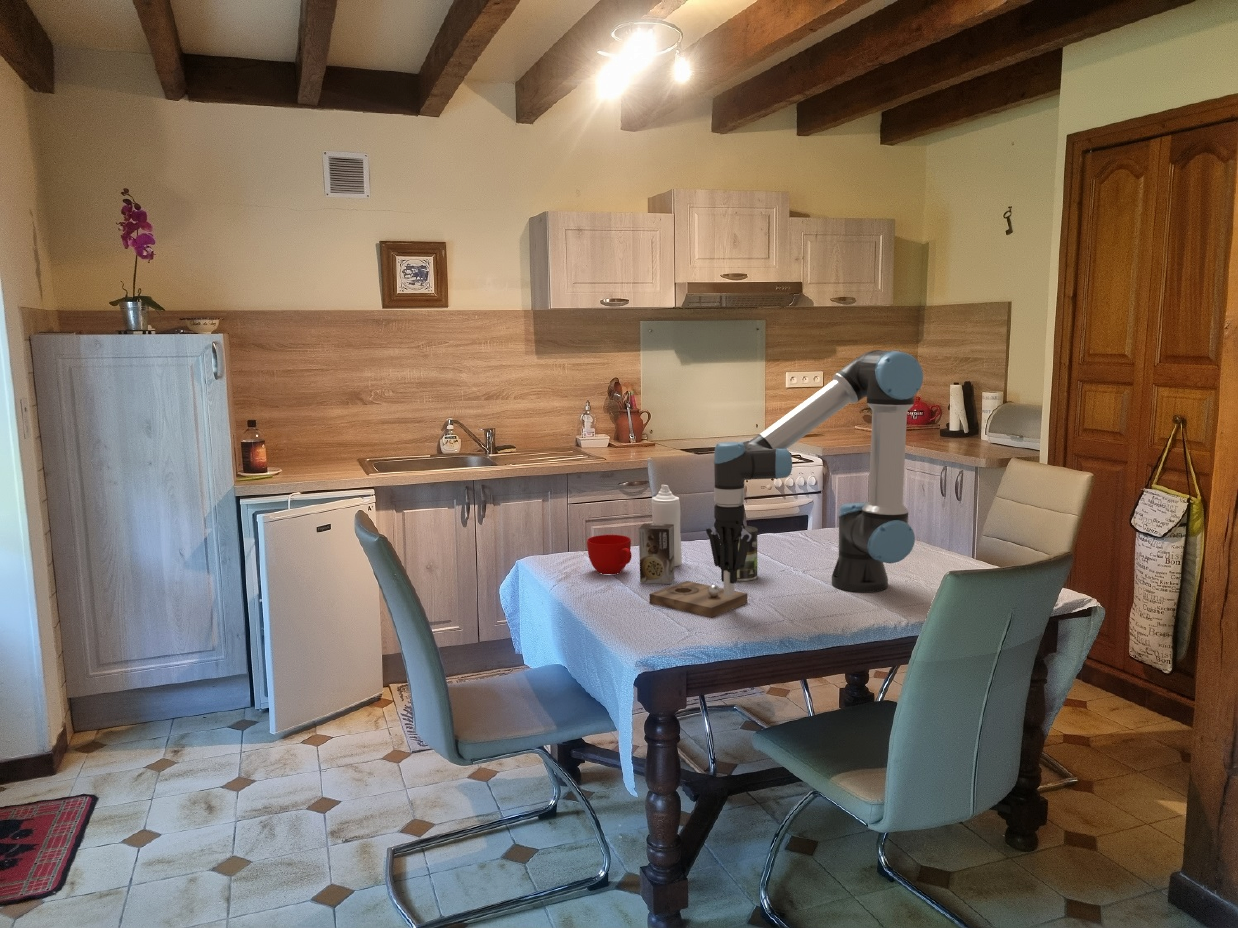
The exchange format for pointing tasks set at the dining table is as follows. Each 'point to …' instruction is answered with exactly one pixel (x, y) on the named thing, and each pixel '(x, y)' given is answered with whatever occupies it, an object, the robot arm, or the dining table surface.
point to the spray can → (668, 516)
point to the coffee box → (656, 553)
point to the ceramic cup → (609, 553)
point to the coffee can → (749, 558)
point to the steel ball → (713, 590)
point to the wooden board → (696, 599)
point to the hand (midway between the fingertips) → (729, 594)
